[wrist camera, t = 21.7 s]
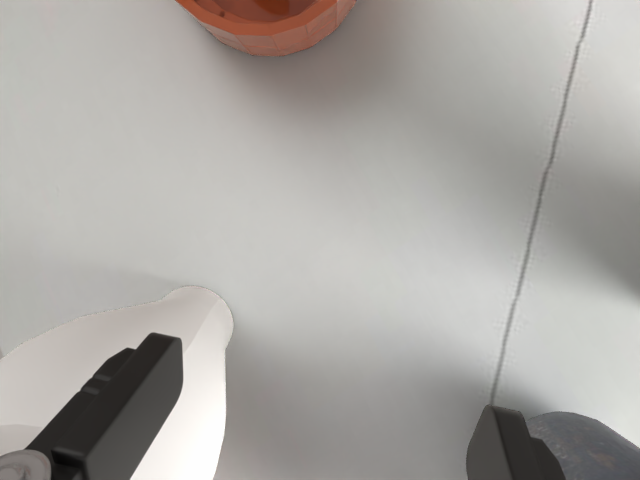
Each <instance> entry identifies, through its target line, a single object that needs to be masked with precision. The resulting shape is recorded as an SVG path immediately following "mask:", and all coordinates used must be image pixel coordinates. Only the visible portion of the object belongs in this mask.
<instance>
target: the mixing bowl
mask: <svg viewBox="0 0 640 480" xmlns="http://www.w3.org/2000/svg"><path fill="white" fill-rule="evenodd" d="M175 1H176V2H177V3H178V4H179V5H180V6H181V7H182V8H183V9H184V10H185V11H186V12H187V13H188V14H190V15H191V16H192V17H193V18H194V19H195V20H196V21H197V22H198V23H199V24H200V25H201V26H202V27H204V28H205V29H206V30H207V31H209V32H210V33H211V34H212V35H213V36H215V37H216V38H217V39H218V40H219V41H221V42H222V43H223V44H225V45H228V46H230V47H233V48H235V49H238V50H240V51H243V52H245V53H248V54H250V55H262V56H285V55H288V54H291V53H294V52H298V51H301V50H304V49H308V48H310V47H312V46H314V45H315V44H316V43H318V42H319V41H321V40H322V39H323V38H325V37H326V36H328V35H329V34H330V33H332V32H333V31H334V30H336V29H337V28H338V26H339V25H340V24H341V22H342V21H343V20H344V18H345V17H346V15H347V14H348V13H349V11H350V10H351V9H352V7H353V6H354V5H355V3H356V1H357V0H175Z"/></svg>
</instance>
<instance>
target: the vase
mask: <svg viewBox="0 0 640 480" xmlns="http://www.w3.org/2000/svg"><path fill="white" fill-rule="evenodd" d="M152 332H155V333H160V334H165V335H169V336H174V337H179V338H181V340H182V351H183V387H182V391H181V394H180V397H179V399H178V401H177V403H176V405H175V406H174V408H173V410H172V411H171V413H170V415H169V416H168V418H167V419H166V421H165V423H164V424H163V426H162V428H161V429H160V431H159V433H158V434H157V436H156V437H155V439H154V441H153V442H152V444H151V446H150V447H149V449H148V451H147V452H146V454H145V456H144V457H143V459H142V460H141V462H140V464H139V465H138V467H137V469H136V470H135V472H134V474H133V475H132V477H131V478H130V480H212V479H213V476H214V474H215V471H216V467H217V463H218V459H219V455H220V451H221V446H222V442H223V438H224V430H225V420H226V375H225V349H226V347H227V345H228V343H229V341H230V339H231V336H232V334H233V318H232V314H231V312H230V310H229V308H228V306H227V304H226V303H225V302H224V301H223V299H222V298H221V297H219V296H218V295H217V294H215V293H214V292H213V291H210V290H208V289H205V288H203V287H197V286H186V287H181V288H178V289H176V290H173V291H172V292H170V293H169V294H168V295H166V296H165V297H164V298H163V299H161V300H159V301H154V302H149V303H144V304H139V305H134V306H129V307H124V308H119V309H114V310H109V311H104V312H99V313H94V314H89V315H85V316H82V317H80V318H77V319H75V320H72V321H70V322H67V323H65V324H62V325H60V326H58V327H55V328H53V329H51V330H49V331H47V332H45V333H42V334H40V335H38V336H36V337H34V338H32V339H30V340H27V341H25V342H23V343H21V344H20V345H19V346H18V347H16V348H15V349H14V350H12V351H11V352H10V353H9V354H7V355H6V356H5V357H4V358H2V359H1V360H0V456H2V455H4V454H7V453H10V452H13V451H18V450H23V449H25V448H26V447H27V446H28V445H29V444H30V443H31V442H32V441H33V440H34V439H35V438H36V436H37V435H38V434H39V433H40V432H41V431H42V430H43V429H44V428H45V427H46V426H47V424H48V423H49V422H50V421H51V420H52V419H53V418H54V417H55V416H56V415H57V414H58V412H59V411H60V410H61V409H62V408H63V407H64V406H65V405H66V404H67V403H68V402H69V400H70V399H71V398H72V397H73V396H74V395H75V394H76V393H77V392H80V390H81V387H82V386H83V385H84V384H85V383H86V382H87V381H88V380H89V379H90V378H92V377H93V374H94V373H95V372H96V371H97V370H98V369H99V368H100V367H101V366H102V365H103V363H104V362H105V361H106V360H107V359H109V358H110V357H112V356H114V355H115V354H117V353H119V352H120V351H122V350H124V349H125V348H127V347H128V348H132V349H136V348H137V347H138V346H139V345H140V344H141V343H142V341H143V340H144V339H145V338H146V337H147V336H148V335H149V334H150V333H152Z"/></svg>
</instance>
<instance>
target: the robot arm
mask: <svg viewBox="0 0 640 480" xmlns="http://www.w3.org/2000/svg"><path fill="white" fill-rule="evenodd" d="M182 387H183V351H182V340H181V338H179V337H174V336H169V335H165V334H160V333H155V332H152V333H150V334H149V335H148V336H147V337H146V338H145V339H144V340H143V341H142V343H141V344H140V345H139V346H138V347H137V348H136V349H132V348H128V347H127V348H125V349H124V350H122V351H120V352H119V353H117V354H115V355H114V356H112V357H110V358H109V359H107V360H106V361H105V362H104V363H103V365H102V366H101V367H100V368H99V369H98V370H97V371H96V372H95V373H94V374H93V377H92V378H90V379H89V380H88V381H87V382H86V383H85V384H84V385H83V386H82V387H81V390H80V392H77V393H76V394H75V395H74V396H73V397H72V398H71V399H70V400H69V402H68V403H67V404H66V405H65V406H64V407H63V408H62V409H61V410H60V411H59V412H58V414H57V415H56V416H55V417H54V418H53V419H52V420H51V421H50V422H49V423H48V424H47V426H46V427H45V428H44V429H43V430H42V431H41V432H40V433H39V434H38V435H37V436H36V438H35V439H34V440H33V441H32V442H31V443H30V444H29V445H28V446H27V447H26V448H25V449H23V450H18V451H13V452H10V453H7V454H4V455H2V456H0V480H130V478H131V477H132V475H133V474H134V472H135V470H136V469H137V467H138V465H139V464H140V462H141V460H142V459H143V457H144V456H145V454H146V452H147V451H148V449H149V447H150V446H151V444H152V442H153V441H154V439H155V437H156V436H157V434H158V433H159V431H160V429H161V428H162V426H163V424H164V423H165V421H166V419H167V418H168V416H169V415H170V413H171V411H172V410H173V408H174V406H175V405H176V403H177V401H178V399H179V397H180V394H181V391H182ZM466 468H467V475H468V480H566V478H565V475H564V473H563V470H562V468H561V465H560V463H559V461H558V459H557V458H556V457H555V456H554V454H553V453H552V452H551V450H550V449H549V448H548V447H547V445H546V444H545V443H544V441H543V440H542V439H538V438H533V437H531V436H530V434H529V431H528V428H527V425H526V422H525V419H524V417H523V415H522V414H521V412H519V411H515V410H510V409H506V408H501V407H496V406H492V405H487V406H486V407H485V408H484V410H483V412H482V415H481V417H480V419H479V422H478V424H477V426H476V429H475V431H474V433H473V436H472V438H471V440H470V443H469V445H468V450H467V457H466Z"/></svg>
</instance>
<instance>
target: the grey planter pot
mask: <svg viewBox="0 0 640 480" xmlns="http://www.w3.org/2000/svg"><path fill="white" fill-rule="evenodd" d="M526 425H527V428H528V431H529V434H530V436H531V437H533V438H538V439H542V440H543V441H544V443H545V444H546V445H547V447H548V448H549V449H550V450H551V452H552V453H553V454H554V456H555V457H556V458H557V459H558V461H559V463H560V465H561V468H562V470H563V473H564V475H565V478H566V480H640V448H638V447H637V446H636V445H634V444H633V443H631V442H630V441H628V440H627V439H625V438H624V437H622V436H621V435H619V434H618V433H617V432H615V431H614V430H612V429H611V428H609V427H608V426H606V425H604V424H603V423H601V422H599V421H598V420H595V419H592V418H589V417H586V416H582V415H579V414H576V413H569V412H551V413H546V414H542V415H540V416H537V417H534V418H532V419H530V420H528V421H526Z"/></svg>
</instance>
